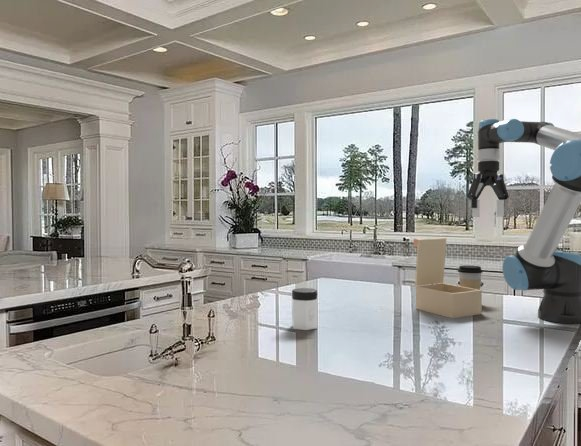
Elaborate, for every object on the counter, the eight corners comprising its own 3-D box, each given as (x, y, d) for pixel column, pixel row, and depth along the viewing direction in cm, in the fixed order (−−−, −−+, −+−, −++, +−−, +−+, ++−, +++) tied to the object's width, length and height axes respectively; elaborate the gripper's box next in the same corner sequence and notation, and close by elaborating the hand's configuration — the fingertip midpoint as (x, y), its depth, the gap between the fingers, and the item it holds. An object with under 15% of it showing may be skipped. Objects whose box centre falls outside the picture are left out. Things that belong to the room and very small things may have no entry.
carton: (481, 315, 174) (481, 290, 173) (452, 319, 167) (452, 293, 167) (443, 306, 190) (443, 283, 189) (416, 310, 183) (416, 286, 183)
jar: (300, 331, 152) (300, 293, 152) (286, 326, 159) (286, 289, 159) (323, 327, 157) (323, 290, 157) (308, 322, 164) (308, 287, 164)
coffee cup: (486, 306, 189) (486, 268, 188) (461, 306, 189) (461, 268, 188) (477, 302, 198) (477, 265, 198) (453, 302, 198) (454, 265, 198)
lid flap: (446, 238, 187) (429, 235, 195) (419, 239, 181) (403, 236, 189) (443, 282, 189) (427, 278, 197) (416, 285, 183) (400, 280, 191)
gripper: (502, 163, 196) (501, 216, 196) (457, 160, 184) (457, 217, 184) (518, 161, 189) (518, 216, 190) (473, 158, 177) (473, 217, 178)
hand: (488, 216), depth 187 cm, fingers open, 13 cm apart
